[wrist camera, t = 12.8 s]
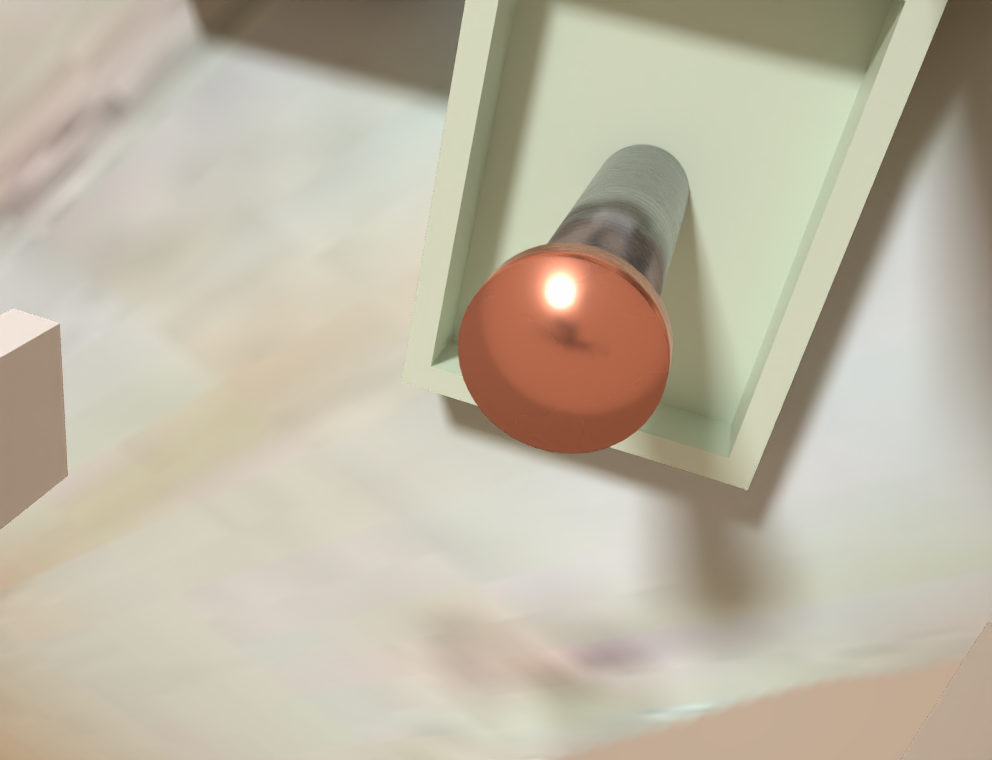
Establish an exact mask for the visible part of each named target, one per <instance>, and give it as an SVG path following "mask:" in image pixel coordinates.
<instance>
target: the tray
mask: <svg viewBox="0 0 992 760" xmlns="http://www.w3.org/2000/svg"><path fill="white" fill-rule="evenodd" d="M947 1H948V0H465V6H464V12H463V17H462V23H461V29H460V35H459V41H458V47H457V53H456V59H455V65H454V71H453V77H452V83H451V89H450V95H449V101H448V107H447V113H446V118H445V124H444V130H443V136H442V142H441V148H440V154H439V160H438V166H437V172H436V178H435V184H434V190H433V196H432V202H431V208H430V214H429V220H428V225H427V231H426V237H425V243H424V249H423V255H422V261H421V267H420V273H419V279H418V285H417V291H416V297H415V303H414V309H413V315H412V321H411V326H410V332H409V338H408V344H407V350H406V356H405V362H404V368H403V374H402V380H401V382H403V383H406V384H409V385H412V386H416V387H419V388H422V389H425V390H428V391H432V392H435V393H438V394H441V395H444V396H448V397H451V398H454V399H457V400H460V401H464V402H467V403H470V404H473V405H476V406H478V405H477V404H476V403H475V401H474V400H473V398H472V396H471V394H470V393H469V391H468V389H467V386H466V384H465V382H464V379H463V376H462V373H461V369H460V364H459V358H458V337H459V330H460V326H461V322H462V319H463V316H464V314H465V312H466V309H467V307H468V305H469V304H470V302H471V300H472V299H473V297H474V296H475V294H476V293H477V292H478V291H479V289H480V288H481V287H482V286H483V284H484V283H485V282H486V281H487V280H488V278H489V277H490V276H491V275H492V274H493V272H494V271H495V270H496V269H497V268H498V267H500V266H501V265H502V264H503V263H504V262H505V261H507V260H509V259H510V258H512V257H513V256H515V255H516V254H519V253H521V252H523V251H525V250H527V249H530V248H533V247H536V246H539V245H545V244H547V243H548V242H549V240H550V239H551V237H552V236H553V235H554V233H555V232H556V230H557V229H558V227H559V226H560V225H561V223H562V222H563V220H564V219H565V217H566V216H567V215H568V213H569V212H570V210H571V209H572V208H573V206H574V205H575V203H576V202H577V200H578V199H579V198H580V196H581V195H582V193H583V192H584V191H585V189H586V188H587V186H588V185H589V183H590V182H591V181H592V179H593V178H594V176H595V175H596V173H597V172H598V171H599V169H600V168H601V166H602V165H603V164H604V162H605V161H606V160H607V159H608V158H609V157H610V156H611V155H612V154H614V153H615V152H617V151H618V150H620V149H622V148H625V147H628V146H632V145H639V144H645V145H652V146H656V147H659V148H662V149H664V150H666V151H667V152H669V153H670V154H672V155H673V156H674V157H675V158H676V159H677V160H678V161H679V163H680V164H681V165H682V167H683V168H684V171H685V173H686V175H687V178H688V183H689V199H688V204H687V207H686V211H685V214H684V218H683V221H682V224H681V228H680V231H679V235H678V238H677V242H676V245H675V248H674V252H673V255H672V259H671V262H670V266H669V269H668V273H667V276H666V279H665V283H664V286H663V290H662V293H661V297H660V298H661V300H662V302H663V304H664V306H665V308H666V311H667V314H668V317H669V320H670V324H671V329H672V337H673V351H672V360H671V364H670V369H669V373H668V378H667V382H666V386H665V390H664V393H663V395H662V398H661V400H660V403H659V405H658V406H657V408H656V410H655V411H654V413H653V414H652V416H651V417H650V418H649V419H648V420H647V422H646V423H645V424H644V425H643V426H642V427H641V428H640V429H639V430H637V431H636V432H635V433H634V434H632V435H631V436H629V437H628V438H627V439H625V440H623V441H621V442H619V443H617V444H615V445H613V446H610V447H611V448H614V449H617V450H620V451H623V452H627V453H630V454H633V455H636V456H639V457H643V458H646V459H649V460H652V461H655V462H659V463H662V464H665V465H668V466H671V467H675V468H678V469H681V470H684V471H687V472H691V473H694V474H697V475H700V476H703V477H707V478H710V479H713V480H716V481H719V482H722V483H726V484H729V485H732V486H735V487H738V488H742V489H745V490H748V489H749V486H750V484H751V481H752V479H753V476H754V474H755V471H756V469H757V466H758V464H759V462H760V459H761V457H762V454H763V452H764V449H765V447H766V444H767V442H768V440H769V437H770V435H771V432H772V430H773V427H774V425H775V422H776V420H777V417H778V415H779V413H780V410H781V408H782V405H783V403H784V400H785V398H786V395H787V393H788V391H789V388H790V386H791V383H792V381H793V378H794V376H795V373H796V371H797V369H798V366H799V364H800V361H801V359H802V356H803V354H804V351H805V349H806V346H807V344H808V342H809V339H810V337H811V334H812V332H813V329H814V327H815V324H816V322H817V320H818V317H819V315H820V312H821V310H822V307H823V305H824V302H825V300H826V297H827V295H828V293H829V290H830V288H831V285H832V283H833V280H834V278H835V275H836V273H837V271H838V268H839V266H840V263H841V261H842V258H843V256H844V253H845V251H846V249H847V246H848V244H849V241H850V239H851V236H852V234H853V231H854V229H855V226H856V224H857V222H858V219H859V217H860V214H861V212H862V209H863V207H864V204H865V202H866V200H867V197H868V195H869V192H870V190H871V187H872V185H873V182H874V180H875V177H876V175H877V173H878V170H879V168H880V165H881V163H882V160H883V158H884V155H885V153H886V151H887V148H888V146H889V143H890V141H891V138H892V136H893V133H894V131H895V128H896V126H897V124H898V121H899V119H900V116H901V114H902V111H903V109H904V106H905V104H906V102H907V99H908V97H909V94H910V92H911V89H912V87H913V84H914V82H915V80H916V77H917V75H918V72H919V70H920V67H921V65H922V62H923V60H924V57H925V55H926V53H927V50H928V48H929V45H930V43H931V40H932V38H933V35H934V33H935V31H936V28H937V26H938V23H939V21H940V18H941V16H942V13H943V11H944V8H945V6H946V4H947Z"/></svg>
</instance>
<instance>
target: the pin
mask: <svg viewBox="0 0 992 760" xmlns="http://www.w3.org/2000/svg"><path fill="white" fill-rule="evenodd" d="M688 199H689V183H688V178H687V175H686V173H685V171H684V168H683V167H682V165H681V164H680V163H679V161H678V160H677V159H676V158H675V157H674V156H673V155H672V154H670V153H669V152H667V151H666V150H664V149H662V148H659V147H656V146H652V145H645V144H639V145H632V146H628V147H625V148H622V149H620V150H618V151H617V152H615V153H614V154H612V155H611V156H610V157H609V158H608V159H607V160H606V161H605V162H604V164H603V165H602V166H601V168H600V169H599V171H598V172H597V173H596V175H595V176H594V178H593V179H592V181H591V182H590V183H589V185H588V186H587V188H586V189H585V191H584V192H583V193H582V195H581V196H580V198H579V199H578V200H577V202H576V203H575V205H574V206H573V208H572V209H571V210H570V212H569V213H568V215H567V216H566V217H565V219H564V220H563V222H562V223H561V225H560V226H559V227H558V229H557V230H556V232H555V233H554V235H553V236H552V237H551V239H550V240H549V242H548V243H547V244H545V245H539V246H536V247H533V248H530V249H527V250H525V251H523V252H521V253H519V254H516V255H515V256H513V257H512V258H510V259H509V260H507V261H505V262H504V263H503V264H502V265H501V266H500V267H498V268H497V269H496V270H495V271H494V272H493V274H492V275H491V276H490V277H489V278H488V280H487V281H486V282H485V283H484V284H483V286H482V287H481V288H480V289H479V291H478V292H477V293H476V294H475V296H474V297H473V299H472V300H471V302H470V304H469V305H468V307H467V309H466V312H465V314H464V316H463V319H462V322H461V326H460V330H459V337H458V358H459V364H460V369H461V373H462V376H463V379H464V382H465V384H466V386H467V389H468V391H469V393H470V394H471V396H472V398H473V400H474V401H475V403H476V404H477V405H478V407H479V408H480V409H481V411H482V412H483V413H484V414H485V415H486V416H487V417H488V418H489V419H490V420H491V421H492V422H493V423H494V424H495V425H496V426H497V427H499V428H500V429H501V430H502V431H504V432H505V433H507V434H508V435H510V436H512V437H513V438H515V439H517V440H519V441H521V442H523V443H525V444H527V445H530V446H533V447H535V448H539V449H542V450H546V451H551V452H558V453H575V454H576V453H587V452H593V451H597V450H602V449H605V448H607V447H610V446H613V445H615V444H617V443H619V442H621V441H623V440H625V439H627V438H628V437H629V436H631V435H632V434H634V433H635V432H636V431H637V430H639V429H640V428H641V427H642V426H643V425H644V424H645V423H646V422H647V420H648V419H649V418H650V417H651V416H652V414H653V413H654V411H655V410H656V408H657V406H658V405H659V403H660V400H661V398H662V395H663V393H664V390H665V386H666V382H667V378H668V373H669V369H670V364H671V360H672V351H673V337H672V329H671V324H670V320H669V317H668V314H667V311H666V308H665V306H664V304H663V302H662V300H661V298H660V297H661V293H662V290H663V286H664V283H665V279H666V276H667V273H668V269H669V266H670V262H671V259H672V255H673V252H674V248H675V245H676V242H677V238H678V235H679V231H680V228H681V224H682V221H683V218H684V214H685V211H686V207H687V204H688Z"/></svg>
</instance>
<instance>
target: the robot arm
mask: <svg viewBox="0 0 992 760" xmlns="http://www.w3.org/2000/svg"><path fill="white" fill-rule="evenodd" d="M67 476H68V469H67V451H66V432H65V413H64V394H63V376H62V357H61V338H60V323H57V322H54V321H51V320H48V319H45V318H41V317H38V316H35V315H32V314H29V313H26V312H23V311H20V310H17V309H11V310H10V311H8V312H6V313H4V314H2V315H0V529H2V528H3V527H4V526H5V525H7V524H8V523H9V522H10V521H12V520H13V519H14V518H15V517H17V516H18V515H19V514H20V513H22V512H23V511H24V510H25V509H27V508H28V507H29V506H30V505H32V504H33V503H34V502H35V501H37V500H38V499H39V498H40V497H42V496H43V495H44V494H45V493H47V492H48V491H49V490H50V489H52V488H53V487H54V486H55V485H57V484H58V483H59V482H60V481H62V480H63V479H64V478H65V477H67ZM901 760H992V623H990V622H988V623H987V624H986V626H985V627H984V629H983V630H982V632H981V634H980V635H979V637H978V638H977V640H976V642H975V643H974V645H973V646H972V648H971V649H970V651H969V653H968V654H967V656H966V657H965V659H964V660H963V662H962V664H961V665H960V667H959V668H958V670H957V672H956V673H955V675H954V676H953V678H952V679H951V681H950V683H949V684H948V686H947V687H946V689H945V690H944V692H943V694H942V695H941V697H940V698H939V700H938V702H937V703H936V705H935V706H934V708H933V709H932V711H931V713H930V714H929V716H928V717H927V719H926V720H925V722H924V724H923V725H922V727H921V728H920V730H919V731H918V733H917V735H916V736H915V738H914V739H913V741H912V742H911V744H910V746H909V747H908V749H907V750H906V752H905V754H904V755H903V757H902V758H901Z"/></svg>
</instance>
